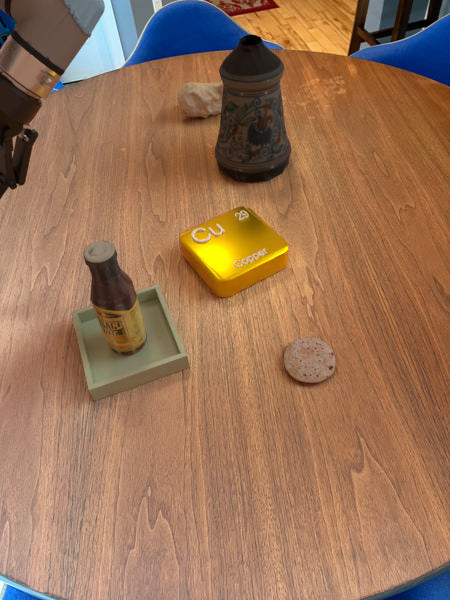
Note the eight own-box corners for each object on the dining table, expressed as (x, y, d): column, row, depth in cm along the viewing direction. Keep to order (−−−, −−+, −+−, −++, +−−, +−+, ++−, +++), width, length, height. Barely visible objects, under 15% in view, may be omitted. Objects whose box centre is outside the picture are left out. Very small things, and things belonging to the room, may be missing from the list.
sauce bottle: (100, 346, 75) (59, 254, 60) (128, 320, 78) (95, 226, 63) (131, 365, 72) (96, 274, 57) (158, 337, 75) (131, 244, 60)
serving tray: (76, 323, 79) (71, 311, 77) (161, 295, 82) (158, 283, 79) (94, 401, 69) (88, 390, 67) (190, 367, 72) (187, 355, 70)
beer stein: (234, 192, 99) (227, 70, 80) (199, 148, 111) (185, 32, 92) (304, 169, 103) (313, 47, 84) (263, 128, 115) (262, 13, 96)
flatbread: (334, 387, 68) (335, 384, 67) (281, 381, 69) (281, 377, 68) (335, 341, 73) (336, 337, 72) (286, 336, 74) (286, 332, 73)
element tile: (220, 302, 80) (218, 283, 76) (178, 252, 88) (174, 232, 85) (293, 265, 84) (294, 244, 81) (245, 220, 93) (245, 200, 89)
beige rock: (169, 125, 122) (192, 106, 109) (166, 96, 122) (188, 72, 108) (222, 127, 129) (250, 108, 116) (219, 99, 129) (247, 77, 115)
